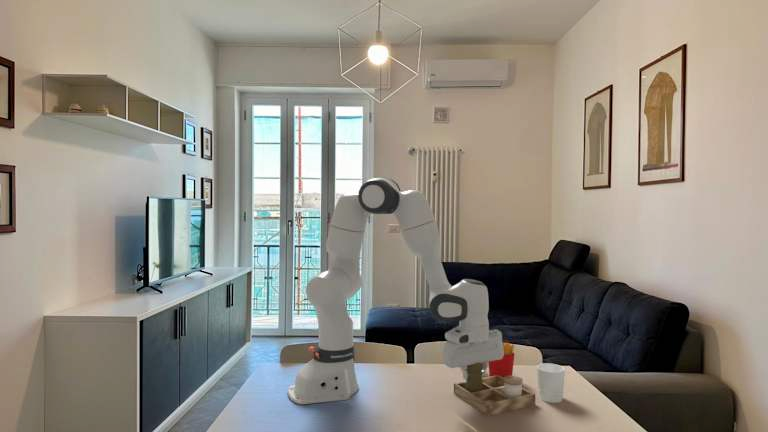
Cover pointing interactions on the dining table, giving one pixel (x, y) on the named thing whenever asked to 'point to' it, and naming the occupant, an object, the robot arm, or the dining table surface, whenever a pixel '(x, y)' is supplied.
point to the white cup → (550, 382)
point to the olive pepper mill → (474, 378)
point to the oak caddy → (493, 396)
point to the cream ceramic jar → (513, 386)
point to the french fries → (503, 362)
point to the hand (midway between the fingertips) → (474, 377)
